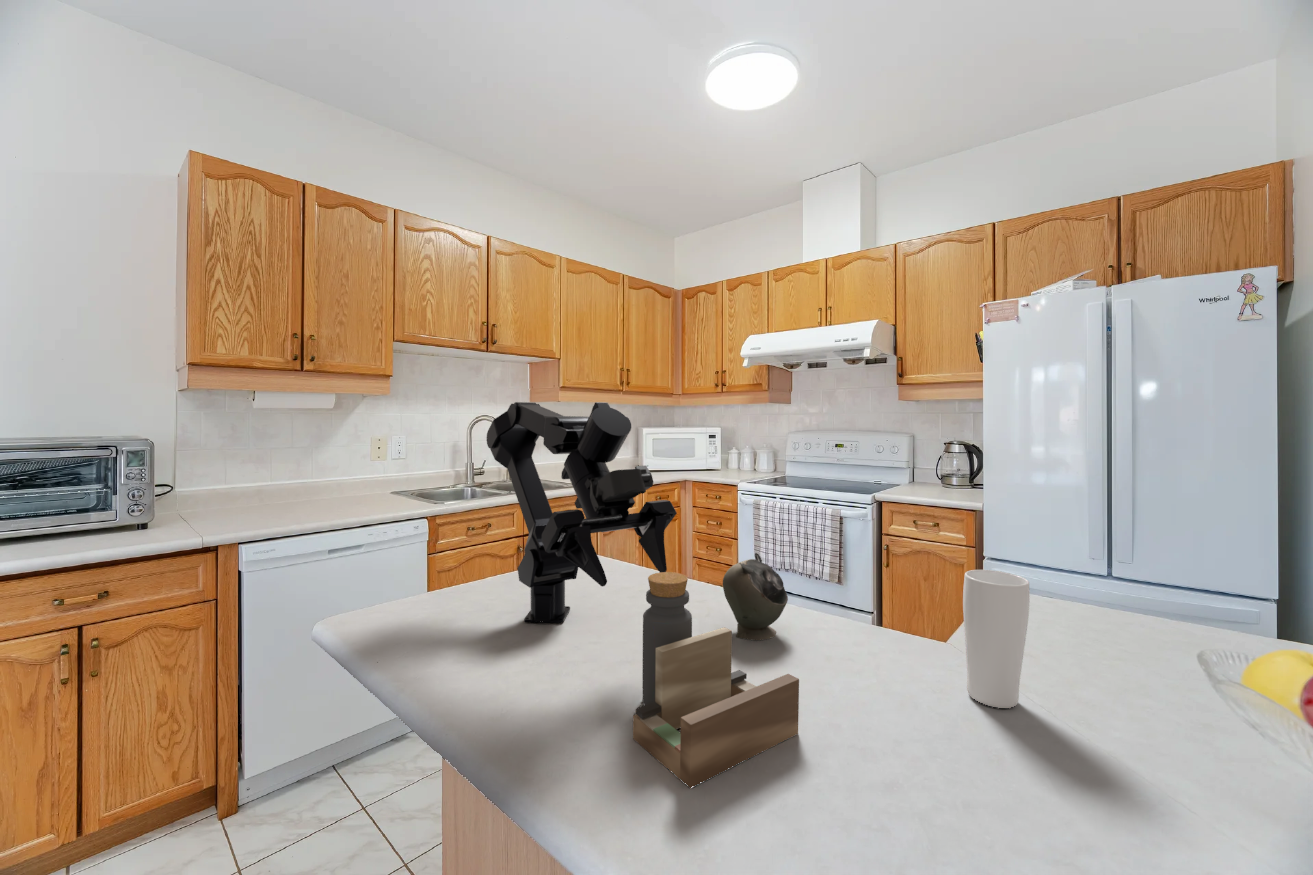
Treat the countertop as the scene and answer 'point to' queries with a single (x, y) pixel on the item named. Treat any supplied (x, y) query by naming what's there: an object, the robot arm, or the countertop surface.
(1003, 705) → the drinking glass
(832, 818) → the countertop surface
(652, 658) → the bottle
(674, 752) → the wooden rack
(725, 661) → the wooden flat panel
